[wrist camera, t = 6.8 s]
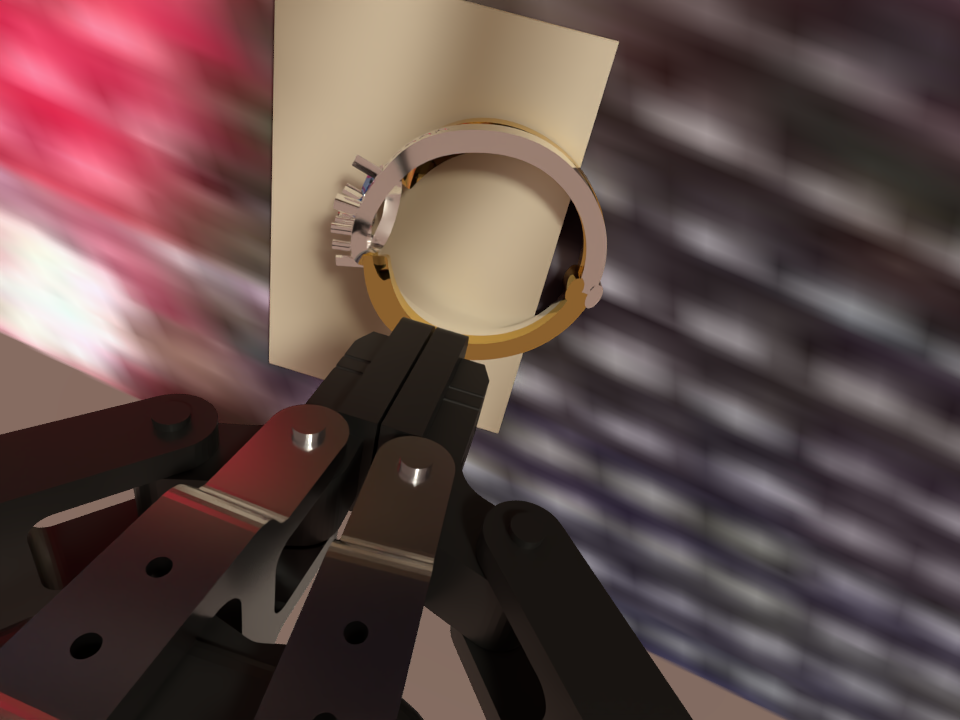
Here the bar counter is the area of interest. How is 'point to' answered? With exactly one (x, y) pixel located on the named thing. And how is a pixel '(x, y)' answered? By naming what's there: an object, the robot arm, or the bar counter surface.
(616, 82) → the bar counter surface
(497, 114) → the birch board
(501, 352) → the ring
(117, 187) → the bar counter surface
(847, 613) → the bar counter surface
